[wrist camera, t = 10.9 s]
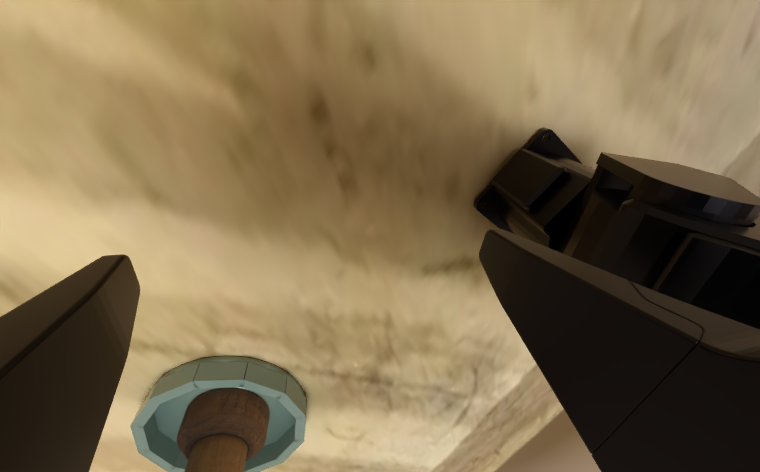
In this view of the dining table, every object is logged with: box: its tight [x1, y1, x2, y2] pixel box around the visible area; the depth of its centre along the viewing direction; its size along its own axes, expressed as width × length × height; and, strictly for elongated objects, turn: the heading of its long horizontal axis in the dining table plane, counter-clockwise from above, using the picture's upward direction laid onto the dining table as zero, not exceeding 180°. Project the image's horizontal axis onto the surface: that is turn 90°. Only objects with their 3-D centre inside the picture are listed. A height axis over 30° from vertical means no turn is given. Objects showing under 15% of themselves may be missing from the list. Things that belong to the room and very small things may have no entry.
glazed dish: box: [131, 356, 307, 472], centre depth 27 cm, size 13×13×2 cm
